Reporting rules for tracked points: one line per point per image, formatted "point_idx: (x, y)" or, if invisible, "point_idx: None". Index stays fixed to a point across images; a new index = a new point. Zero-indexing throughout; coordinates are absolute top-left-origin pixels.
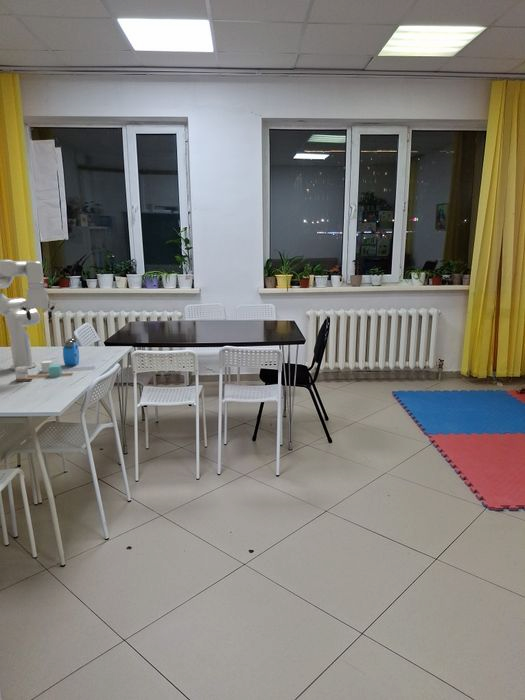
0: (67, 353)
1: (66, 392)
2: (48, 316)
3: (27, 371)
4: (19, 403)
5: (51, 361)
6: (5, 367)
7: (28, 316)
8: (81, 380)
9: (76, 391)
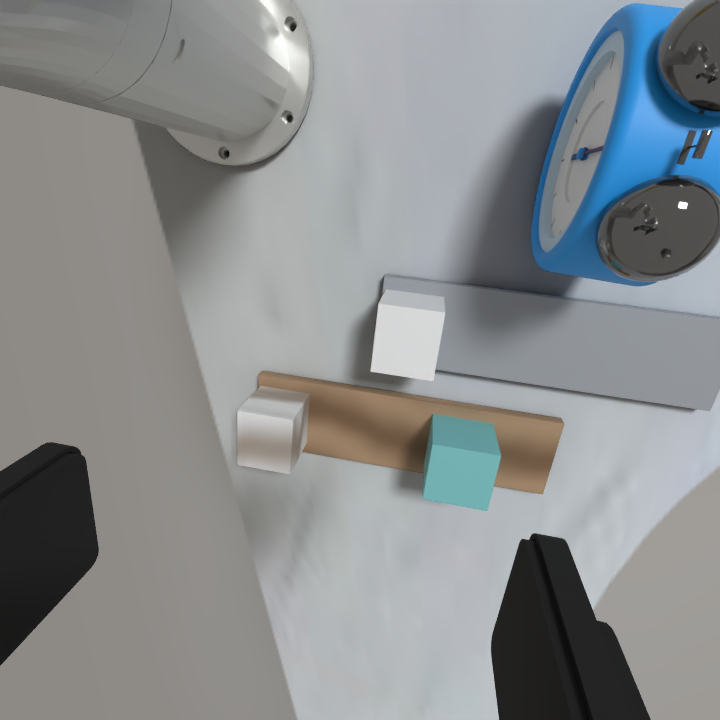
0: (586, 276)
1: None
2: (503, 717)
3: (301, 416)
4: (330, 694)
5: (439, 344)
6: None
7: (13, 630)
8: (583, 541)
9: None
